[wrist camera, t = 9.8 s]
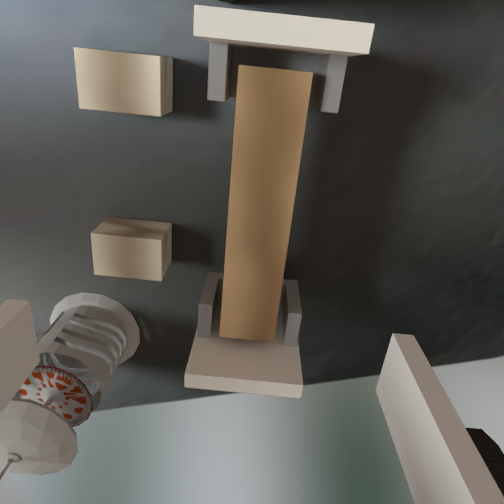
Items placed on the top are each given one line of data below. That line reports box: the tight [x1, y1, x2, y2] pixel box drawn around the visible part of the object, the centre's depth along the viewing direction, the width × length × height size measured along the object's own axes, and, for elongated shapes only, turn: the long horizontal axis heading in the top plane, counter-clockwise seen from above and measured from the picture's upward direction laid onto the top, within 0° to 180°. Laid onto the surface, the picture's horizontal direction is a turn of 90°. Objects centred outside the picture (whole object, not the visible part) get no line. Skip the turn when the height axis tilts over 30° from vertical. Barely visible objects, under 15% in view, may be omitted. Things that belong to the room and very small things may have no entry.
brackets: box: [184, 5, 375, 398], centre depth 28 cm, size 8×22×14 cm, turn 175°
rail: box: [219, 65, 313, 342], centre depth 27 cm, size 4×18×5 cm, turn 175°
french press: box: [0, 292, 140, 479], centre depth 31 cm, size 10×12×25 cm
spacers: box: [74, 47, 173, 281], centre depth 33 cm, size 6×18×4 cm, turn 175°
